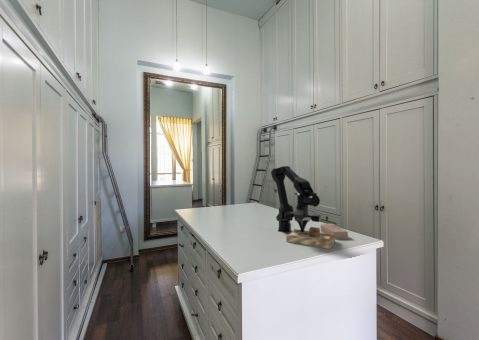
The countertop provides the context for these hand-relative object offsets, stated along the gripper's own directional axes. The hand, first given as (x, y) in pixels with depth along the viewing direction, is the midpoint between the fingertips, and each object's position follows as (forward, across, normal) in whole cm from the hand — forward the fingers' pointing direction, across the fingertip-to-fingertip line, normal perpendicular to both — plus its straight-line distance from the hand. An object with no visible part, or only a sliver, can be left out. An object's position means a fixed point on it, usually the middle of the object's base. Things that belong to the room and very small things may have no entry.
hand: (302, 232), depth 127 cm
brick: (+4, +13, +16) cm, 22 cm away
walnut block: (+1, +6, 0) cm, 6 cm away
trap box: (+4, +5, -2) cm, 7 cm away
